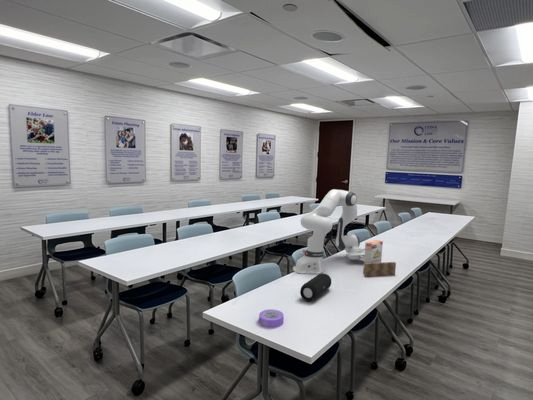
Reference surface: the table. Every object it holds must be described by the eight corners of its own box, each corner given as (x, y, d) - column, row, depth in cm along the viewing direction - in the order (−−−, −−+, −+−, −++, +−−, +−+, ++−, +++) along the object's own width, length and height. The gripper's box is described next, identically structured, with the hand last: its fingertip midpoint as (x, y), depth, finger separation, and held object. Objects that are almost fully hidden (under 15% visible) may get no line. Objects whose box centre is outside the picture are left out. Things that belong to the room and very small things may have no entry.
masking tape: (255, 325, 159) (255, 317, 159) (264, 314, 170) (264, 307, 170) (278, 329, 155) (279, 322, 155) (286, 319, 166) (286, 311, 166)
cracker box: (370, 273, 237) (372, 243, 235) (363, 270, 242) (364, 242, 239) (381, 269, 246) (383, 240, 244) (374, 267, 251) (375, 239, 248)
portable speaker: (314, 304, 183) (315, 286, 182) (298, 300, 189) (298, 282, 188) (332, 289, 205) (333, 273, 204) (317, 286, 210) (317, 270, 209)
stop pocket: (365, 277, 228) (366, 264, 227) (360, 273, 235) (361, 261, 234) (395, 275, 233) (395, 262, 232) (389, 272, 239) (390, 259, 238)
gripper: (345, 250, 262) (352, 255, 248) (369, 249, 266) (378, 253, 252) (344, 258, 263) (352, 263, 249) (369, 256, 266) (378, 262, 253)
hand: (365, 258), depth 251 cm, fingers closed
